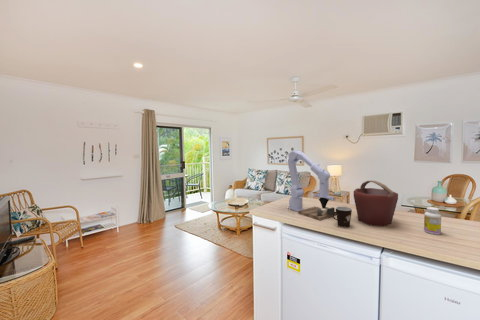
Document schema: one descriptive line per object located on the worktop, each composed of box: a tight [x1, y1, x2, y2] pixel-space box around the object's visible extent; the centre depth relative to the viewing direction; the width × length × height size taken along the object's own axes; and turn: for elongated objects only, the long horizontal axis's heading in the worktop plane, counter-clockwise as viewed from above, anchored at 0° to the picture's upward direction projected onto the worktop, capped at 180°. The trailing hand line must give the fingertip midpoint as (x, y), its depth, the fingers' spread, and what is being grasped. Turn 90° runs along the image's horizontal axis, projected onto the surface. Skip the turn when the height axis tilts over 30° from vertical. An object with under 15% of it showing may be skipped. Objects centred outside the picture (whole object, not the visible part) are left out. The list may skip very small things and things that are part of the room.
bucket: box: [353, 180, 399, 227], centre depth 130 cm, size 24×22×25 cm
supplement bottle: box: [423, 206, 442, 235], centre depth 112 cm, size 7×7×13 cm
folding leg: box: [321, 206, 335, 215], centre depth 142 cm, size 12×3×3 cm, turn 124°
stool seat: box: [297, 206, 337, 222], centre depth 147 cm, size 18×18×6 cm
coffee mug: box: [332, 206, 353, 228], centre depth 126 cm, size 12×9×10 cm
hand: (323, 208), depth 144 cm, fingers closed
